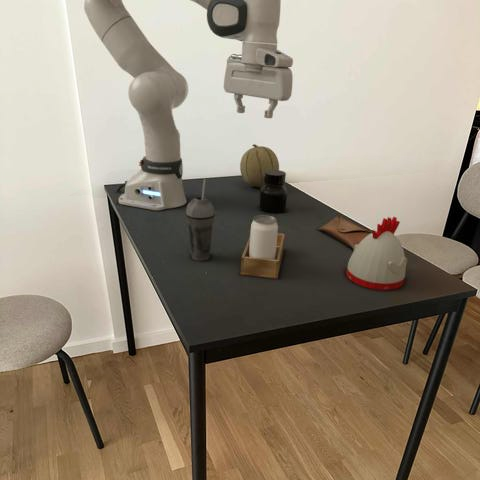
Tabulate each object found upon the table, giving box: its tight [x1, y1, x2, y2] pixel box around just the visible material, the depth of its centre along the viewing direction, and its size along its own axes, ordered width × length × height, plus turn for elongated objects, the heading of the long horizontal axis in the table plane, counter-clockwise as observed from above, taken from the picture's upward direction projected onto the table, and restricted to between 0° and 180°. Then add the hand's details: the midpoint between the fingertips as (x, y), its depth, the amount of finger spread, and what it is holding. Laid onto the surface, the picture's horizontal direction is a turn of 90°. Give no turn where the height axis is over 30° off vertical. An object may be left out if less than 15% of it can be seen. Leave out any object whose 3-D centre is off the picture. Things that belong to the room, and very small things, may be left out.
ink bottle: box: [258, 169, 288, 214], centre depth 149 cm, size 10×9×12 cm
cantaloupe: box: [239, 143, 280, 189], centre depth 170 cm, size 15×15×15 cm
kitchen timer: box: [345, 216, 408, 291], centre depth 109 cm, size 14×14×15 cm
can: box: [249, 214, 279, 260], centre depth 111 cm, size 6×6×12 cm
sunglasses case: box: [317, 214, 372, 250], centre depth 133 cm, size 18×7×7 cm
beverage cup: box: [185, 178, 216, 262], centre depth 113 cm, size 7×7×20 cm
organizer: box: [240, 233, 286, 279], centre depth 116 cm, size 9×17×5 cm, turn 171°
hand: (254, 115), depth 123 cm, fingers open, 8 cm apart
